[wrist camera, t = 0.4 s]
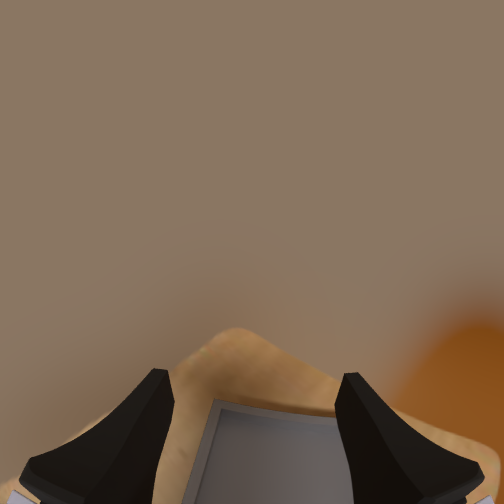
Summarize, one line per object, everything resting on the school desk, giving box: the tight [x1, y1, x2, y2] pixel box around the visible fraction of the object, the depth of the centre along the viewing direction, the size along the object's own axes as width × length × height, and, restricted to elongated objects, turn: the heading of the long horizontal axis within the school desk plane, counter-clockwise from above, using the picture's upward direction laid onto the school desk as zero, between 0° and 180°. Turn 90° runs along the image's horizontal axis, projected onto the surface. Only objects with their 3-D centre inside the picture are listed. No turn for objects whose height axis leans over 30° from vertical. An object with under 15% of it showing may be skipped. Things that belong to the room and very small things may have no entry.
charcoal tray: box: [182, 399, 354, 504], centre depth 19 cm, size 18×18×2 cm
